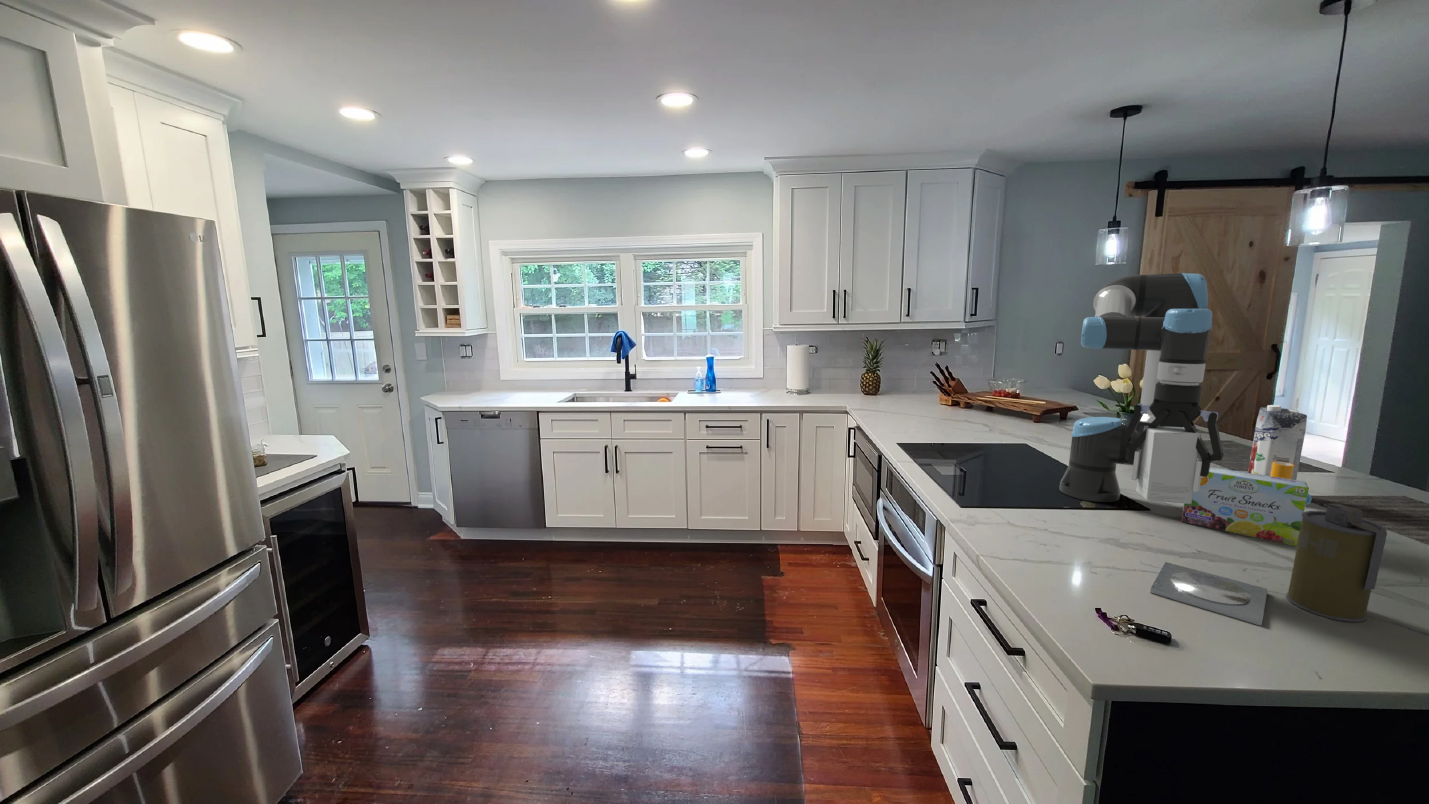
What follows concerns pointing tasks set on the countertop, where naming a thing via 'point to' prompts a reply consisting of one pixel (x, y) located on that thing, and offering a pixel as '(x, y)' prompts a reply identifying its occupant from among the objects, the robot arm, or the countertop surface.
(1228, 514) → the snack box
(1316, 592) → the canister
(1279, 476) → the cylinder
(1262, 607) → the flange plate
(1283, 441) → the juice carton
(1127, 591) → the countertop surface
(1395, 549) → the countertop surface
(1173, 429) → the skincare box
